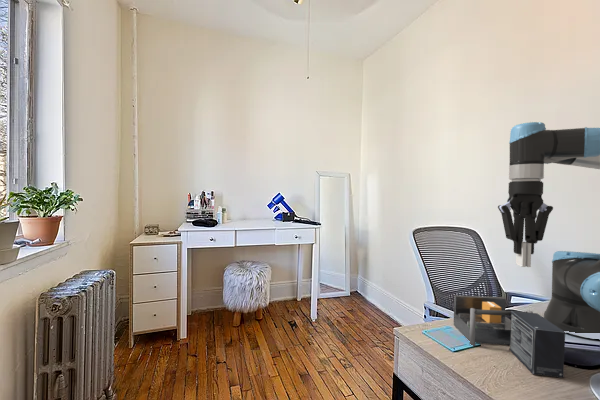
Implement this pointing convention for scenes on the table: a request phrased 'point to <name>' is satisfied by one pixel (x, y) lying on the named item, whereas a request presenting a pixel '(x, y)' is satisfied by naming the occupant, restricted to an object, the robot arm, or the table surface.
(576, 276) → the robot arm
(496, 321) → the orange cardboard carton
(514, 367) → the table surface
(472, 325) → the gray open frame
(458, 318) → the dark gray open box
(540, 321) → the small box
